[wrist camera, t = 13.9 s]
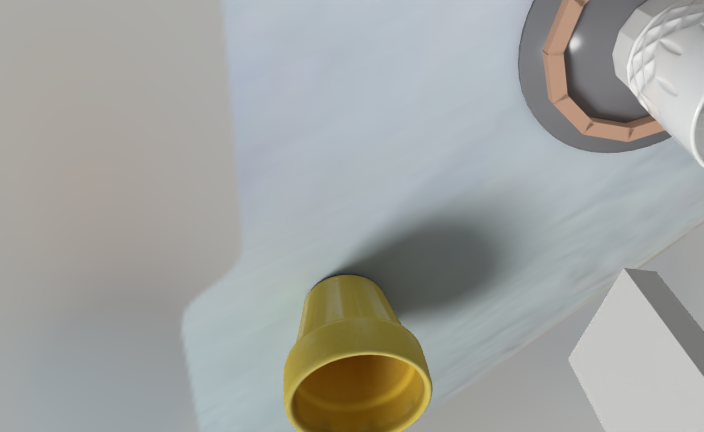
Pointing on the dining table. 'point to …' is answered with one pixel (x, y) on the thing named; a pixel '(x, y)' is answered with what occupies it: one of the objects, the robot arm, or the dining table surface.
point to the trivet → (582, 76)
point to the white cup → (667, 67)
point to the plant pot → (354, 363)
